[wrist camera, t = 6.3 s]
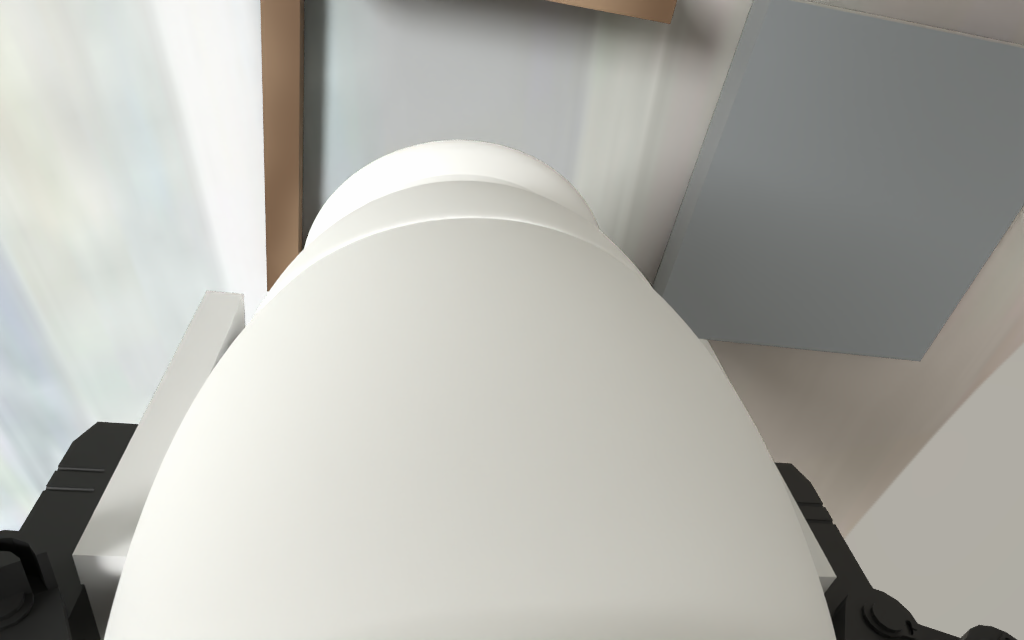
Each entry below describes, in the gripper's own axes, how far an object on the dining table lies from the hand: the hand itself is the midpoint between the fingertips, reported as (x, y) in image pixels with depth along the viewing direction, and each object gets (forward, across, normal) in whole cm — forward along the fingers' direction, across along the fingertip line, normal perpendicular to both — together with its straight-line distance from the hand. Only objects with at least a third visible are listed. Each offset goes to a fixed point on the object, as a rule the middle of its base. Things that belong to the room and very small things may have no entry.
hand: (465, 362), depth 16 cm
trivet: (+16, +19, 0) cm, 25 cm away
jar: (+4, 0, 0) cm, 4 cm away
